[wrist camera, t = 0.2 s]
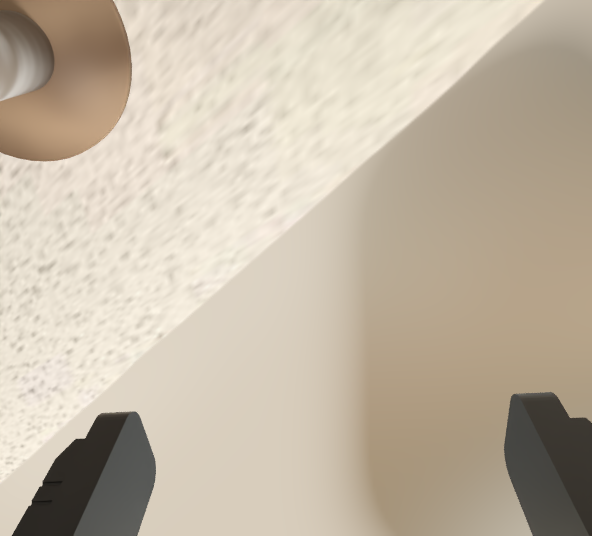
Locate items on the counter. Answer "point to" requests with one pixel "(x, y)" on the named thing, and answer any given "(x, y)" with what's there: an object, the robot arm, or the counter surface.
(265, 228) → the counter surface
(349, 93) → the counter surface
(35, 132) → the lid
